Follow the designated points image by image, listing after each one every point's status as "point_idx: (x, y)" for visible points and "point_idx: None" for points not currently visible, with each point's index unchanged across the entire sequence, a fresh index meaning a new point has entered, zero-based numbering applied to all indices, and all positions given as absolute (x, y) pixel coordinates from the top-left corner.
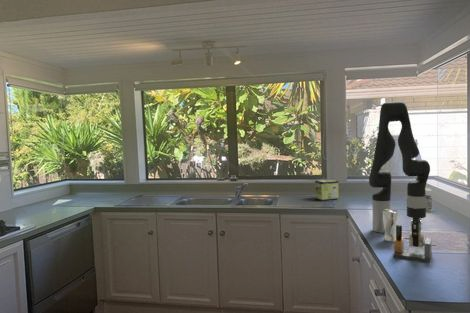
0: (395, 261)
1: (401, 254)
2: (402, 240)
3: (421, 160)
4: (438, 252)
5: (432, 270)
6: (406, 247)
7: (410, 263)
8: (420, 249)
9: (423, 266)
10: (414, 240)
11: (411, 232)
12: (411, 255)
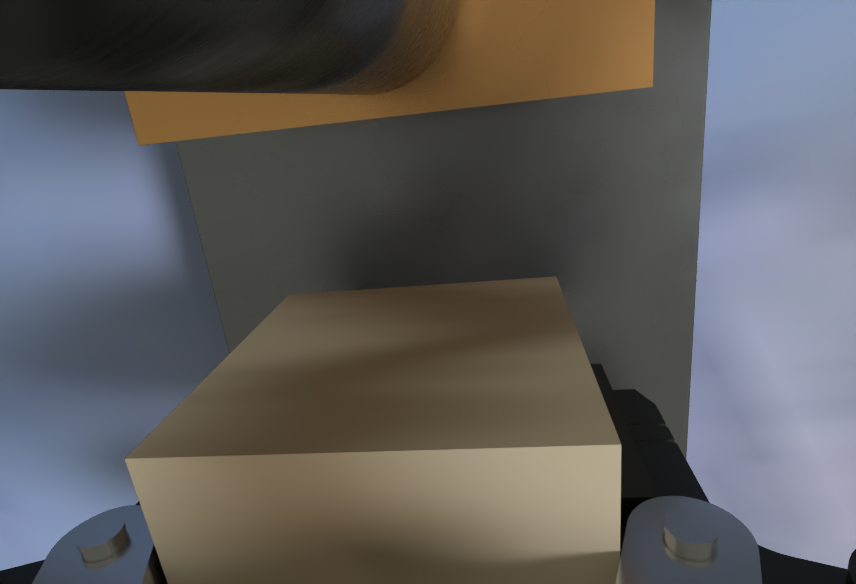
0: (29, 95)
1: (213, 140)
2: (352, 120)
3: None
4: (784, 534)
5: (61, 516)
6: (703, 121)
7: (102, 294)
8: (672, 364)
9: (111, 434)
10: None
11: (560, 475)
12: (262, 293)
